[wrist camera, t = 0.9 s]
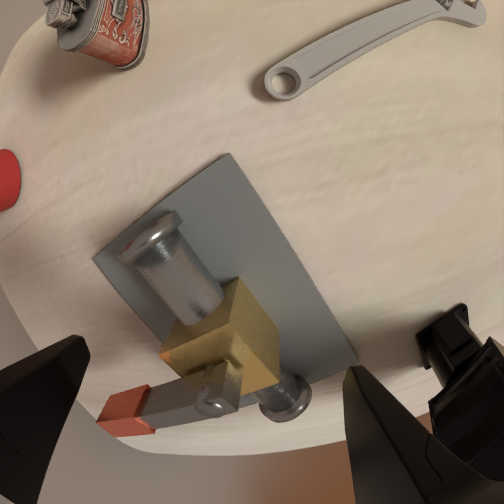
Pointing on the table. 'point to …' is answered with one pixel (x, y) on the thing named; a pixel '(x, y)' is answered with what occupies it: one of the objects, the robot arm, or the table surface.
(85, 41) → the lighter
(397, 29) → the adjustable wrench
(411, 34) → the table surface
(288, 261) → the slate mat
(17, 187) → the beer can
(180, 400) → the lever
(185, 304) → the valve body
